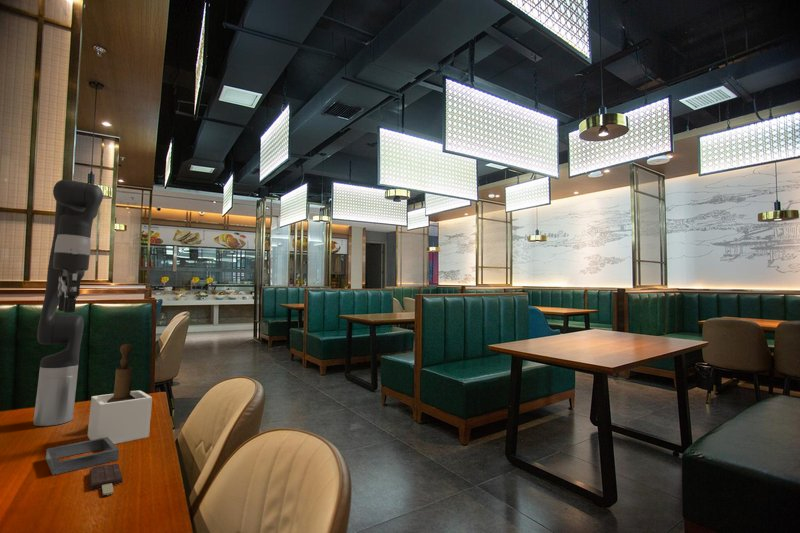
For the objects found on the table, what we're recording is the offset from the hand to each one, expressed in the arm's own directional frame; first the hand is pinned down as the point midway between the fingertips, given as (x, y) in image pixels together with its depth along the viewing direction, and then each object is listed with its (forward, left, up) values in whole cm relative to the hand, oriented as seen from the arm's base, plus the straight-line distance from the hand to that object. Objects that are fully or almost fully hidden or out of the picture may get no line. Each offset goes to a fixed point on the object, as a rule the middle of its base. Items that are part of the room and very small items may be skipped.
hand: (66, 311), depth 105 cm
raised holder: (+3, +14, -35) cm, 38 cm away
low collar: (+16, +4, -35) cm, 39 cm away
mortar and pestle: (+3, +14, -27) cm, 31 cm away
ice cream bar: (+34, +5, -36) cm, 49 cm away
